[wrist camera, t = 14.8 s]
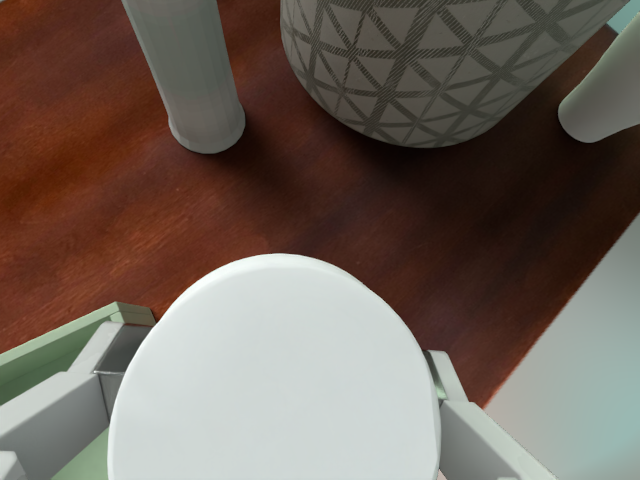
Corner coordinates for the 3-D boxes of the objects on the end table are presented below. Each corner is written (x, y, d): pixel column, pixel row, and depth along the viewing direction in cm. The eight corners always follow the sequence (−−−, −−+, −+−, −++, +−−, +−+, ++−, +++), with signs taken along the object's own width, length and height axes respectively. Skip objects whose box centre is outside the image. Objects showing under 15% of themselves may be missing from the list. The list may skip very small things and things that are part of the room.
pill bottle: (234, 270, 16) (166, 154, 6) (361, 312, 16) (523, 280, 6) (178, 412, 14) (-73, 633, 4) (321, 457, 15) (449, 777, 4)
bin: (216, 463, 27) (198, 503, 21) (47, 564, 25) (-31, 645, 18) (149, 307, 30) (115, 301, 23) (-12, 383, 27) (-101, 400, 20)
